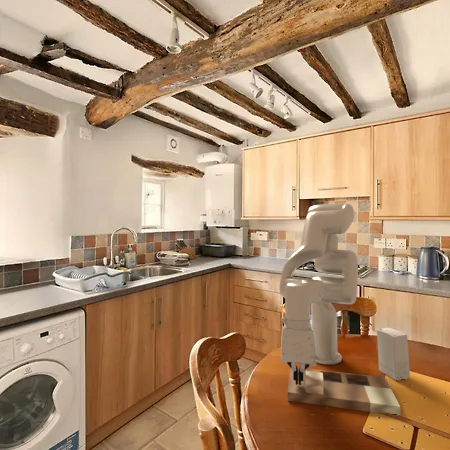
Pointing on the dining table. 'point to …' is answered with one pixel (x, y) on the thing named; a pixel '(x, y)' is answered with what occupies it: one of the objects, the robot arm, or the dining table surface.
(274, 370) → the dining table surface
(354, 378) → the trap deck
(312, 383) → the maple block
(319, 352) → the robot arm
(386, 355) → the skincare box
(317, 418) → the dining table surface
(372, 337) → the dining table surface
